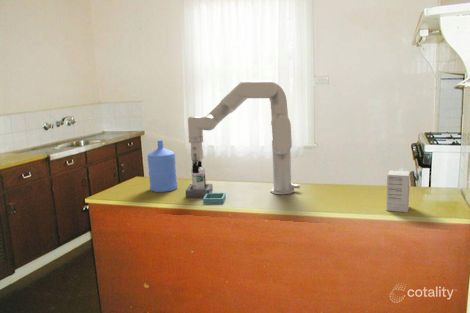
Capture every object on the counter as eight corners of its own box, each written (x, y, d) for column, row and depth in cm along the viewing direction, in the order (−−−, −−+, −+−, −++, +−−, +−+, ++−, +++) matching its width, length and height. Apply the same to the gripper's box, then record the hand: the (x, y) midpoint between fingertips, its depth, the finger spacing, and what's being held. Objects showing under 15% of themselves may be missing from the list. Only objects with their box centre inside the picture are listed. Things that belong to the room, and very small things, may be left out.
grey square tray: (212, 190, 241) (212, 183, 241) (209, 197, 229) (208, 190, 228) (190, 191, 243) (190, 184, 242) (186, 197, 230) (185, 190, 230)
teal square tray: (225, 197, 228) (225, 192, 227) (223, 203, 218) (223, 198, 217) (206, 197, 229) (206, 193, 228) (203, 203, 219) (203, 198, 218)
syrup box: (196, 196, 232) (195, 170, 229) (192, 193, 237) (191, 168, 234) (206, 194, 235) (205, 168, 232) (202, 192, 240) (200, 166, 237)
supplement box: (408, 212, 192) (409, 176, 189) (386, 210, 196) (387, 174, 192) (408, 206, 201) (410, 170, 197) (387, 204, 204) (388, 169, 201)
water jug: (168, 193, 240) (165, 143, 234) (144, 191, 246) (140, 143, 240) (182, 186, 254) (179, 139, 248) (159, 184, 260) (155, 138, 254)
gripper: (200, 142, 221) (201, 174, 225) (205, 136, 238) (206, 167, 241) (185, 142, 222) (187, 174, 225) (192, 136, 239) (193, 167, 242)
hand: (197, 170), depth 233 cm, fingers open, 9 cm apart
